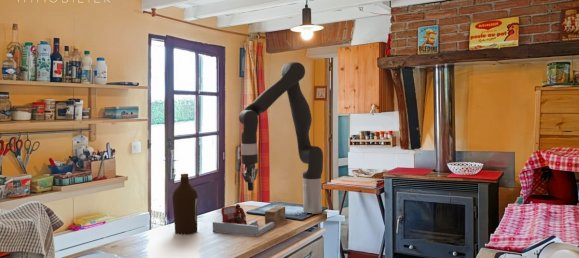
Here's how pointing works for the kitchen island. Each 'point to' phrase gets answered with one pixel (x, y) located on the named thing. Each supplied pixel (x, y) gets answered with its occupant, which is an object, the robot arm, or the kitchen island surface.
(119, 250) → the kitchen island surface
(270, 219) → the wing block
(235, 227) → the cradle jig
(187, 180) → the olive oil
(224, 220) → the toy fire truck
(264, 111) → the robot arm
